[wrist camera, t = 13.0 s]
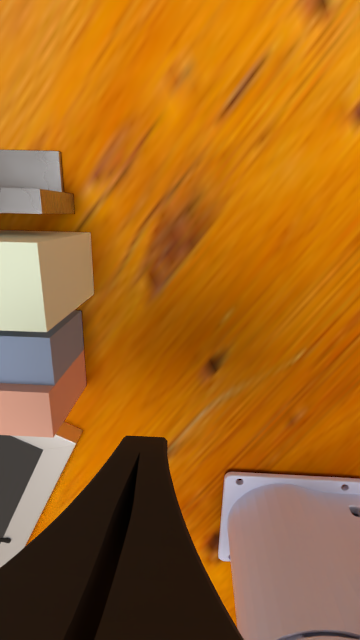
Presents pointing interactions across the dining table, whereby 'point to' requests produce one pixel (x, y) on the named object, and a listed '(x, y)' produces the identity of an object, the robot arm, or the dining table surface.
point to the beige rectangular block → (43, 277)
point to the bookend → (33, 183)
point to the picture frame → (29, 482)
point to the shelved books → (41, 377)
